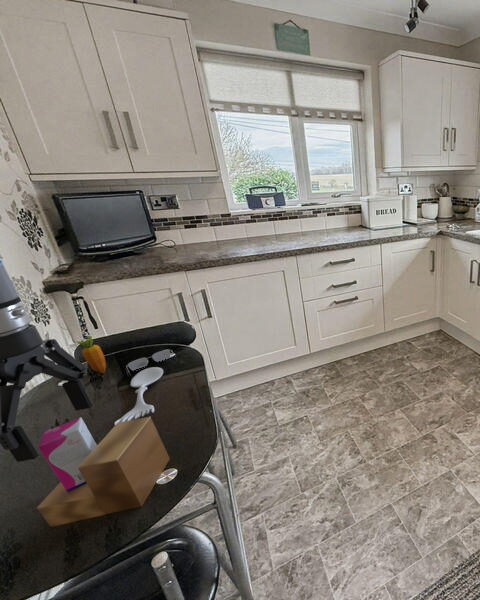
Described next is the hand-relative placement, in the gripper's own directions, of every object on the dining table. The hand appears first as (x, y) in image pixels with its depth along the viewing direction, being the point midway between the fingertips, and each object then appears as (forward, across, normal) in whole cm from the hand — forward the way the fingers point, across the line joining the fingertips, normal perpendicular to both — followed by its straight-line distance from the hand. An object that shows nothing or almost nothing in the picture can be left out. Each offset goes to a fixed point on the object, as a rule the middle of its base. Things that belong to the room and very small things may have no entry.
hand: (59, 431), depth 62 cm
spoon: (+17, +36, +8) cm, 41 cm away
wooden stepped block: (+17, 0, -4) cm, 17 cm away
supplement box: (+12, 0, 0) cm, 12 cm away
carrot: (+18, +58, +33) cm, 69 cm away
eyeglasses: (+17, +56, +15) cm, 60 cm away
